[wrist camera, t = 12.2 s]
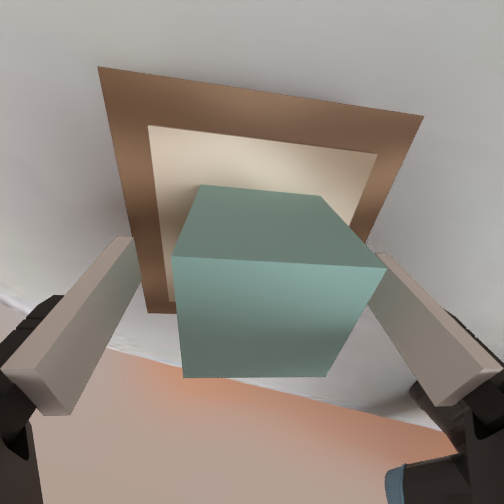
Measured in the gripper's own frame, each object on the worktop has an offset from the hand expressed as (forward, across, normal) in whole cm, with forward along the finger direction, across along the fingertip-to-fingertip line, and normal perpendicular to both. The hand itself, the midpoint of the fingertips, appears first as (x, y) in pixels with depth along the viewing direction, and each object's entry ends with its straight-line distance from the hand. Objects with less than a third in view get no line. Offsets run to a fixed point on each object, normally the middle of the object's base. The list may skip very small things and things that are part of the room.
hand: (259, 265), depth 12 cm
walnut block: (+11, 0, 0) cm, 11 cm away
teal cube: (+3, 0, 0) cm, 3 cm away
